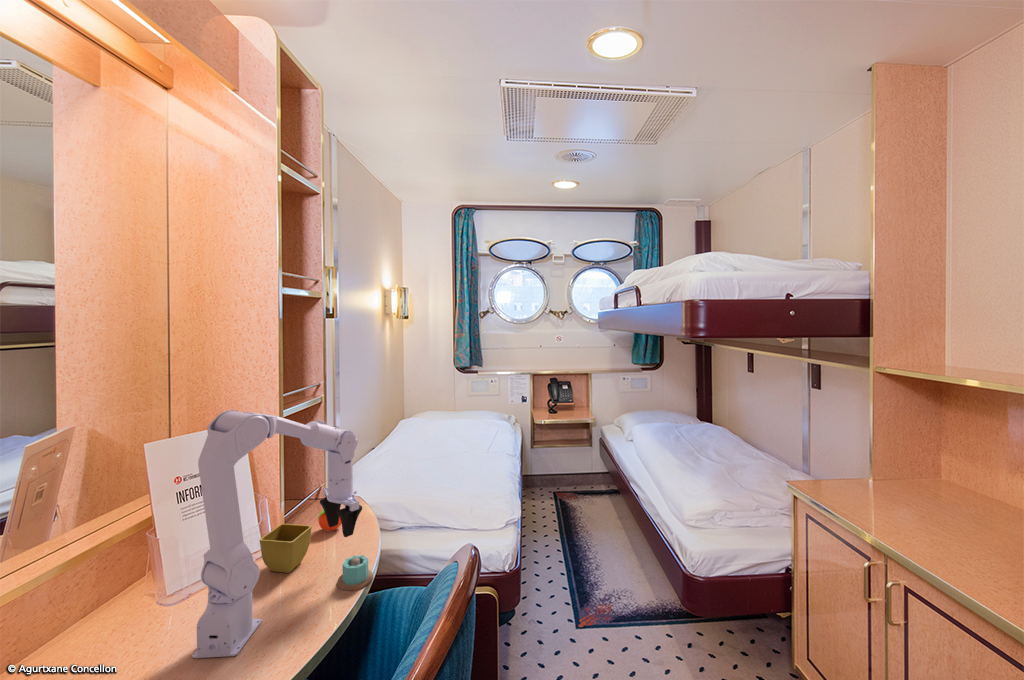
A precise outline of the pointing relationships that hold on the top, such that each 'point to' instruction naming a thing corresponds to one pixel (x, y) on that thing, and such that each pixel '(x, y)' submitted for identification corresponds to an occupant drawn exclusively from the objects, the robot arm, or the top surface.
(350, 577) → the collar
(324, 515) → the clementine
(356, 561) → the post
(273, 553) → the flower pot
